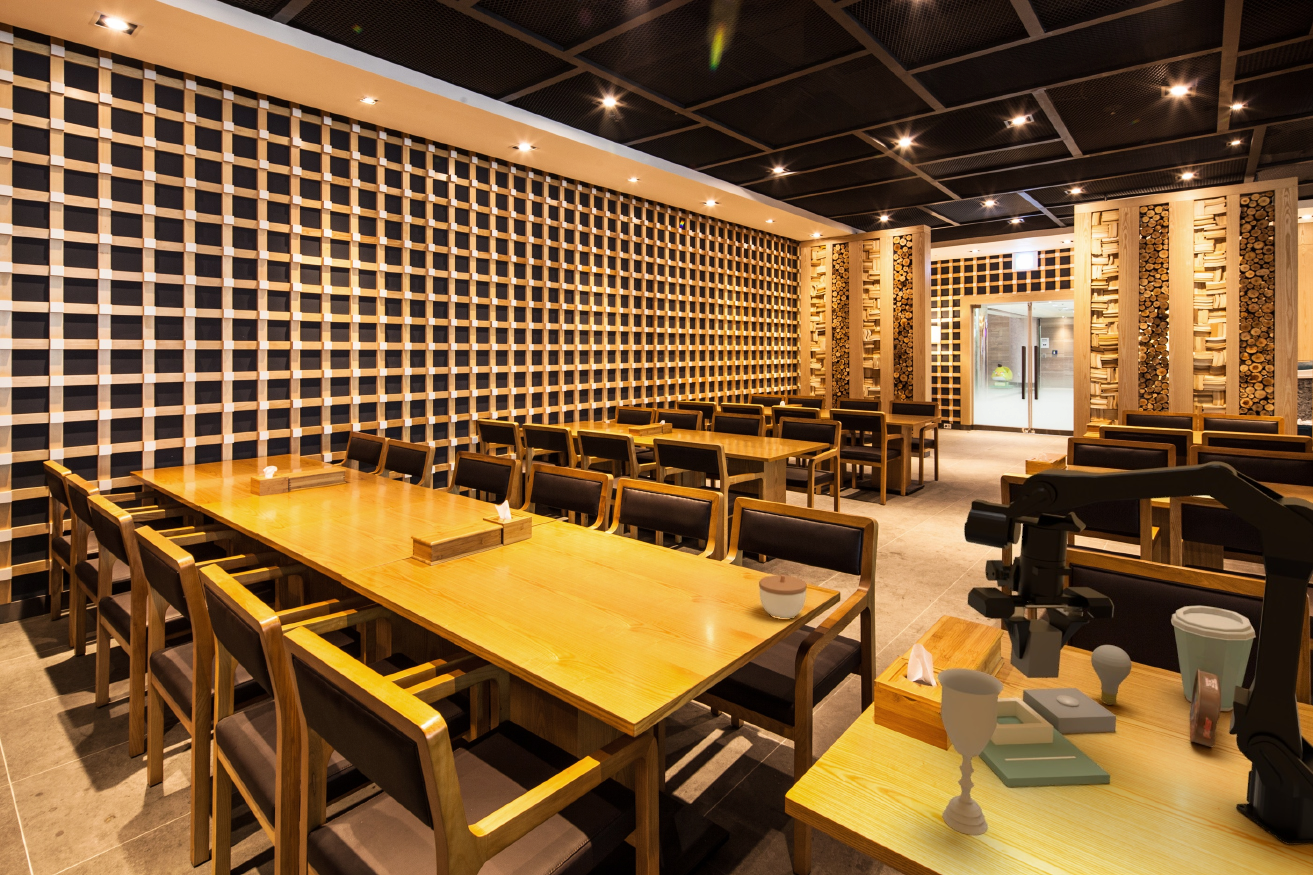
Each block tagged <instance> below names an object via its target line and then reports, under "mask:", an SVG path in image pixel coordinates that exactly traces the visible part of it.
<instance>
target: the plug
mask: <svg viewBox="0 0 1313 875" xmlns="http://www.w3.org/2000/svg"><path fill="white" fill-rule="evenodd" d="M1027 619H1028V620H1030V621H1031V622H1030V627H1029V632H1028V637H1027V642H1026V647H1025V652H1024V655H1023V657H1022V659H1018V658H1017V657H1016V656H1015V653H1014V650H1013V646H1012V645H1011V651H1010V665H1012V667H1014V668H1015V669H1016V670H1017V671H1019V672H1020V673H1021V674H1023V675H1024V677H1026V678H1027V679H1051V678H1052V679H1053V678H1054V679H1055V678H1056V679H1058V678H1059V672H1060V662H1061V652H1062V649H1061V640H1062V631H1060V630H1059V629H1057V628H1055V627H1054V626H1052V625H1051V624H1049V621H1046V620H1045V619H1038V618H1037V619H1033V618H1032V619H1031V618H1030V619H1029V618H1027Z"/></svg>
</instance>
